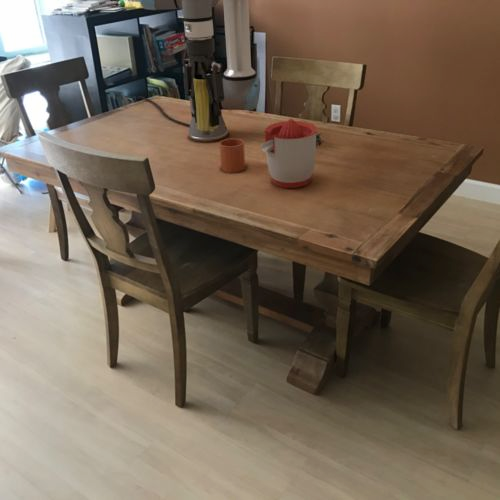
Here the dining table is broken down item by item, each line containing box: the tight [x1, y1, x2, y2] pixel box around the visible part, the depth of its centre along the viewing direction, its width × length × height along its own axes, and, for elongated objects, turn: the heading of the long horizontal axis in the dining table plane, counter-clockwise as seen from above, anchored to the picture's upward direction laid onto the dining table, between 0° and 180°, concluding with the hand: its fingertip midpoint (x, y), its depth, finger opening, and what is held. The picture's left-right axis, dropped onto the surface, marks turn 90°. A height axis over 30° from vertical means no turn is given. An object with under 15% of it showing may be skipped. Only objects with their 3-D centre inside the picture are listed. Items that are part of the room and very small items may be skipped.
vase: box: [193, 77, 218, 131], centre depth 145 cm, size 6×6×14 cm
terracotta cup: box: [219, 137, 246, 174], centre depth 171 cm, size 8×8×9 cm
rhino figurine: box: [316, 131, 325, 146], centre depth 188 cm, size 4×14×6 cm, turn 37°
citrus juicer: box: [260, 118, 318, 189], centre depth 157 cm, size 16×17×20 cm
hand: (207, 123), depth 148 cm, fingers closed on vase, 6 cm apart
